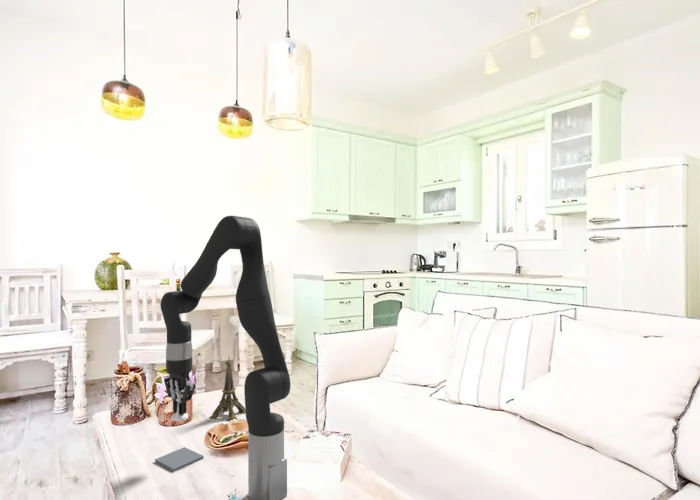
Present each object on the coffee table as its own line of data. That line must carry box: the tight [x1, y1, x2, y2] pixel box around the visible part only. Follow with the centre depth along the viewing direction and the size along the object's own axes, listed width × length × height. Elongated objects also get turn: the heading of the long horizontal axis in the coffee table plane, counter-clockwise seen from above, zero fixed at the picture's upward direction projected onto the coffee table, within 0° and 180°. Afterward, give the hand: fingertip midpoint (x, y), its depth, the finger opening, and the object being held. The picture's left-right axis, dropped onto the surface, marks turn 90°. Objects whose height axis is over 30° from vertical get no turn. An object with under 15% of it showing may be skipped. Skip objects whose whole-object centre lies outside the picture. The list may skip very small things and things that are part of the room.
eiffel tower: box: [208, 357, 246, 422], centre depth 170 cm, size 11×11×25 cm
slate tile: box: [154, 446, 205, 473], centre depth 134 cm, size 10×10×1 cm
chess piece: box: [170, 391, 189, 422], centre depth 133 cm, size 5×5×10 cm
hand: (179, 412), depth 133 cm, fingers closed on chess piece, 2 cm apart
